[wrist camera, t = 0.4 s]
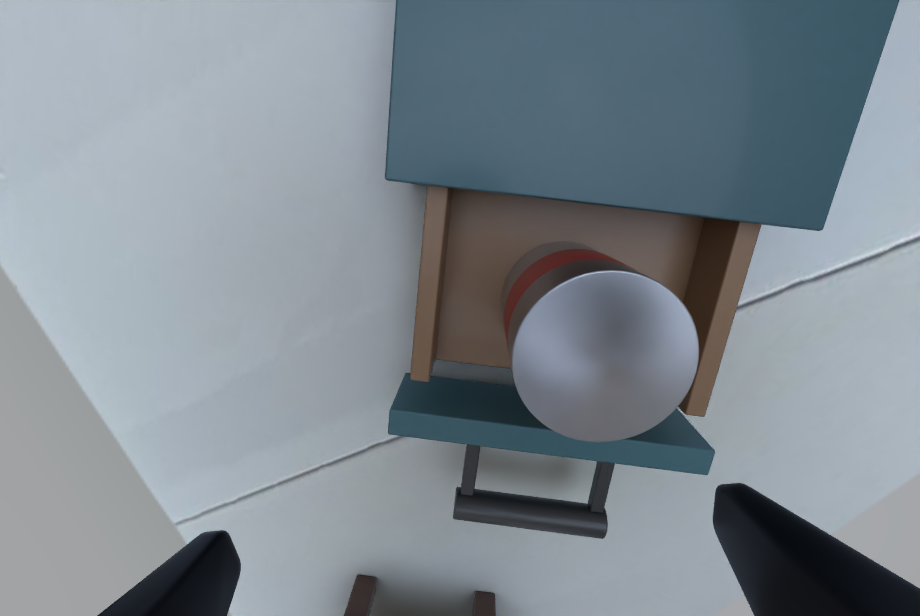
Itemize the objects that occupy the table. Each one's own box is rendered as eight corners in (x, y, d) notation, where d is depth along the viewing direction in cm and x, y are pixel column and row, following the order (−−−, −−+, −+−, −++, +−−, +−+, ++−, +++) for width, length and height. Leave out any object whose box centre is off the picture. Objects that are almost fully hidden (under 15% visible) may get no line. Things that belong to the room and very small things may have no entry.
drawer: (648, 506, 23) (680, 567, 19) (396, 473, 23) (380, 527, 19) (755, 113, 17) (828, 93, 14) (430, 77, 18) (416, 47, 14)
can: (607, 363, 19) (674, 454, 13) (493, 349, 20) (499, 431, 13) (633, 248, 18) (723, 281, 11) (509, 233, 18) (525, 258, 11)
